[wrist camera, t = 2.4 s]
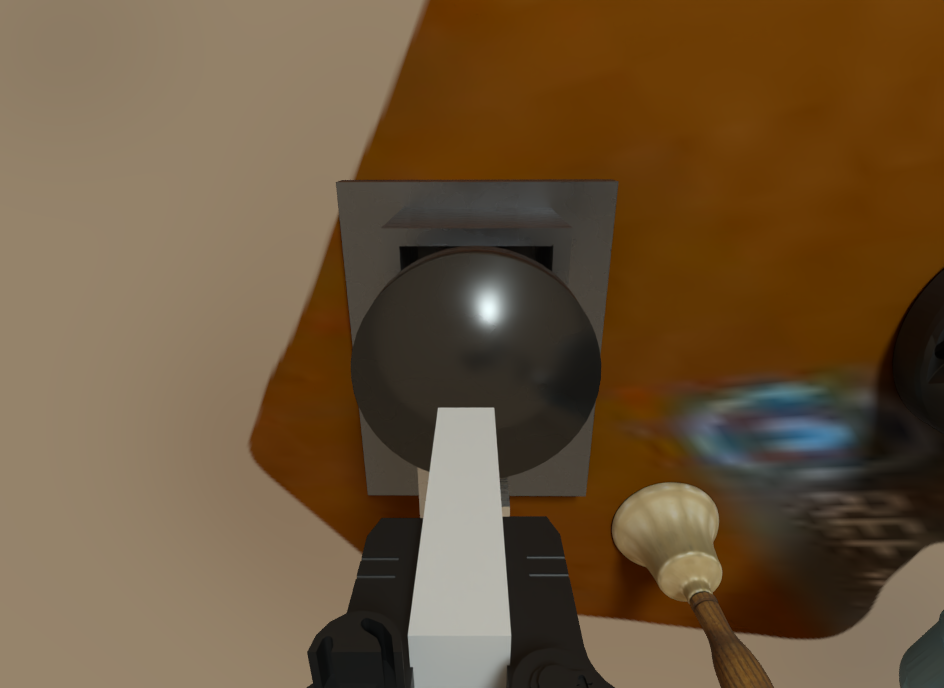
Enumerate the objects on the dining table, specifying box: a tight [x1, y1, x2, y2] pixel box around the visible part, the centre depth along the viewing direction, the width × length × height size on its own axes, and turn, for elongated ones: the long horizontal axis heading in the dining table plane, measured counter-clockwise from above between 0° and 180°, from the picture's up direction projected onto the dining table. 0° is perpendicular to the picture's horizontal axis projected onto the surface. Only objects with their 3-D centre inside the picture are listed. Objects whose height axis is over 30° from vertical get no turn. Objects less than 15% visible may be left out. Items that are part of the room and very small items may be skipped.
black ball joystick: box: [351, 246, 601, 518], centre depth 24 cm, size 9×17×9 cm, turn 0°
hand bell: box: [612, 482, 774, 688], centre depth 32 cm, size 8×8×16 cm
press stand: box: [336, 180, 618, 517], centre depth 27 cm, size 16×22×14 cm
